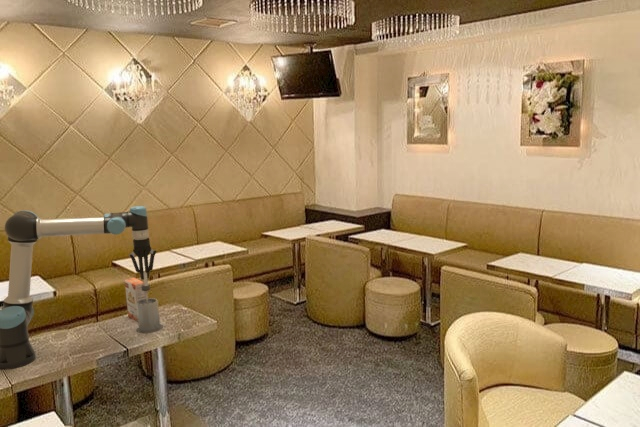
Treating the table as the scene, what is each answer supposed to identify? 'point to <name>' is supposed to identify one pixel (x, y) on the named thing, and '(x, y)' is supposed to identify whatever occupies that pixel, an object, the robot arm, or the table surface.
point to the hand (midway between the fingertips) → (145, 285)
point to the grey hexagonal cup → (148, 315)
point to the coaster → (149, 332)
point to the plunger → (146, 288)
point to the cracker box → (133, 296)
